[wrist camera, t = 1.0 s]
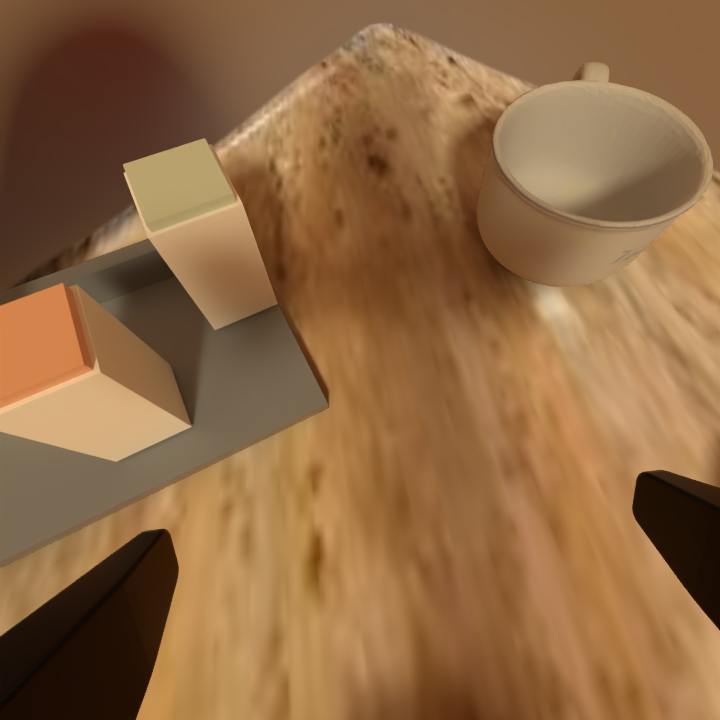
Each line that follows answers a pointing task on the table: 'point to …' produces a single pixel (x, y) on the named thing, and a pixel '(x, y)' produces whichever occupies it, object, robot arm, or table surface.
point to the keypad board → (197, 388)
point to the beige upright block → (201, 231)
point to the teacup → (587, 178)
